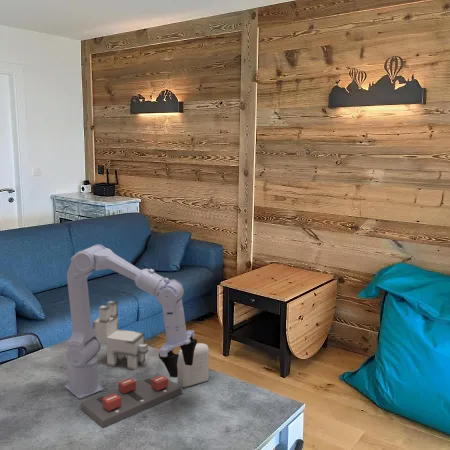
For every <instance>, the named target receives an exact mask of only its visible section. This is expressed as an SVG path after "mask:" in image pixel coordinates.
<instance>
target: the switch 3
mask: <svg viewBox="0 0 450 450" xmlns="http://www.w3.org/2000/svg"><path fill="white" fill-rule="evenodd" d="M160 375H161V376H159V377H156V378H154V379H151V387H152V388H154V389H155V390H157V391H158V390H161V389H163V388H165V387H168V379H169V378H168V377H166V376H164V375H162V374H160Z"/></svg>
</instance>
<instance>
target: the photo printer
mask: <svg viewBox="0 0 450 450" xmlns="http://www.w3.org/2000/svg"><path fill="white" fill-rule="evenodd" d="M177 351H178V352H177V354H179V356H178V362H177V369H178V376H177V377H176V378H177V379H176V380H177V385H179V386H180V387H182V388H188V387H189V386H193V385H197V384H200V383H205V382H207V381H209V376H210V375H209V371H210V370H209V369H210V368H209V367H210V365H209V364H210V349H209V346H208V345H207V344H206V343H202V342H201V343H200V342H197V344H196V347H195V350H194V355H193V364H192V365H191V366H190V365H185V362H184V358H183V353H182V350H181V348H180V349H178V350H177Z"/></svg>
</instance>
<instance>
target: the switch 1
mask: <svg viewBox="0 0 450 450" xmlns="http://www.w3.org/2000/svg"><path fill="white" fill-rule="evenodd" d="M102 401H103V407H104V408H105V409H106V410H107V411H110V410H113V409H115V408H117V407H120V406H121V397H119V396H118V395H117V394H113V395H110V396H108V397H105V398H103V399H102Z"/></svg>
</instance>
